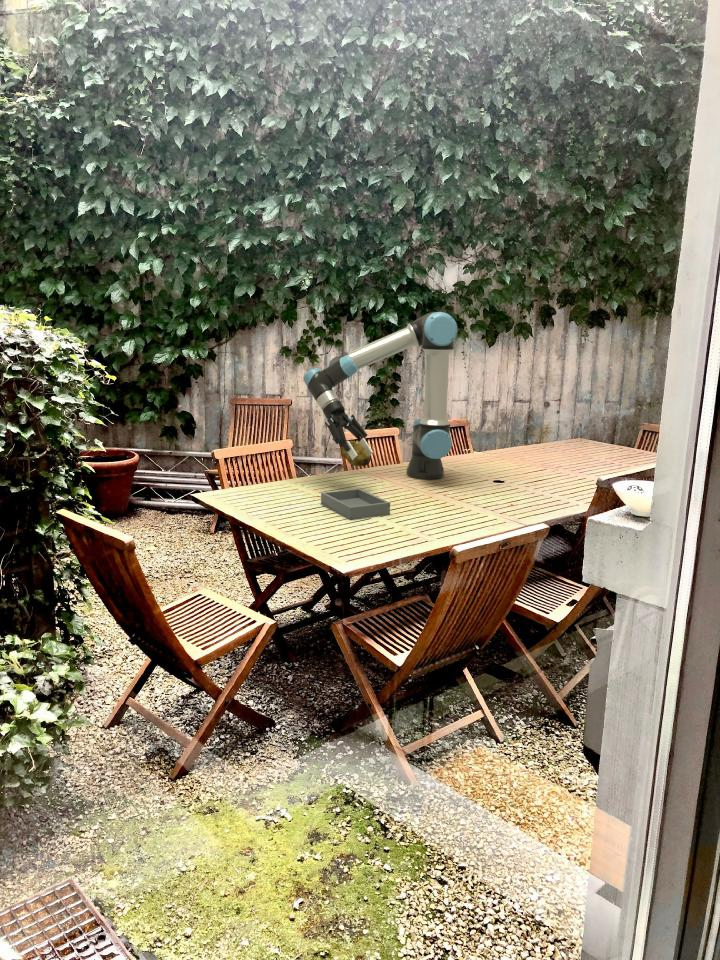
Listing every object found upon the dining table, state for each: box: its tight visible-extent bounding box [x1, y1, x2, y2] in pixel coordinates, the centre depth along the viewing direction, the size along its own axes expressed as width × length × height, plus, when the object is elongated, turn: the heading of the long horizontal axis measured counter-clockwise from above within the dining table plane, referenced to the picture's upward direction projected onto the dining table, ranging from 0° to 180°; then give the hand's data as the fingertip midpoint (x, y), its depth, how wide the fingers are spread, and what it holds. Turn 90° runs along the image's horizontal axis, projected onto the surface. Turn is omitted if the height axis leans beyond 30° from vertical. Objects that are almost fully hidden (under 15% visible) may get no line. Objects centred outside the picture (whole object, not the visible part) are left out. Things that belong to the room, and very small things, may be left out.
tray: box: [320, 487, 391, 521], centre depth 235 cm, size 20×15×4 cm
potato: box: [341, 440, 371, 467], centre depth 253 cm, size 8×13×8 cm, turn 19°
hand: (362, 456), depth 251 cm, fingers closed on potato, 7 cm apart
